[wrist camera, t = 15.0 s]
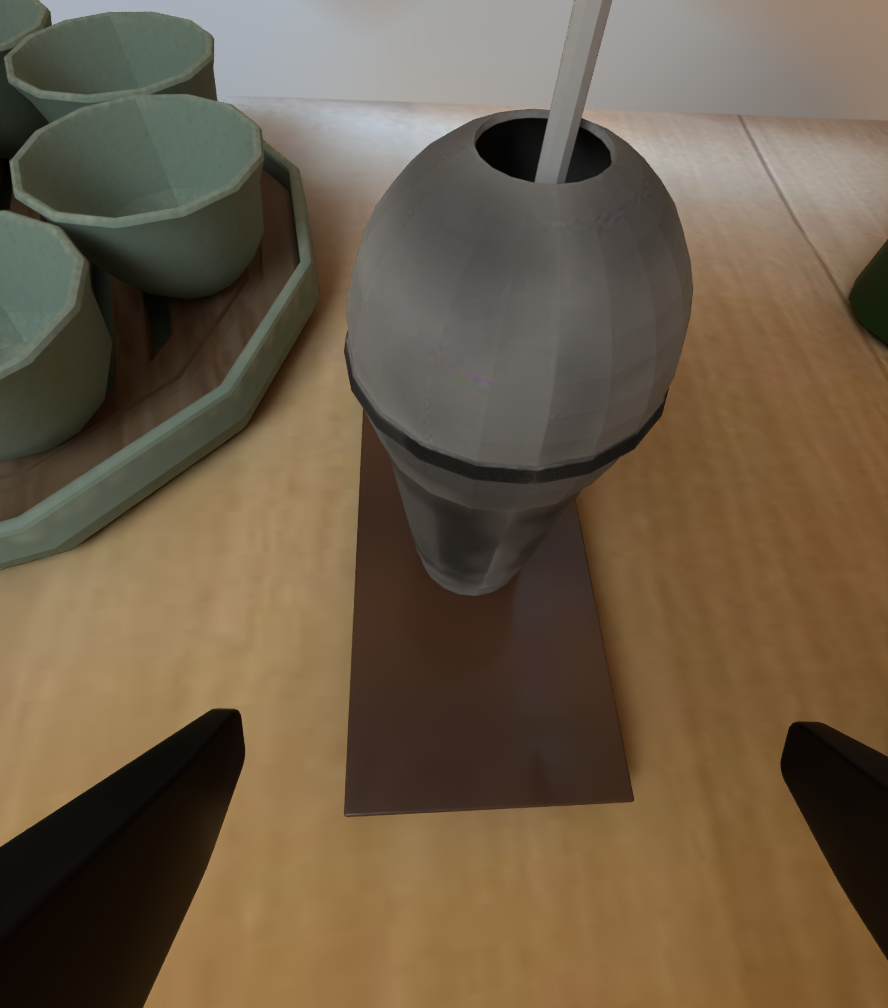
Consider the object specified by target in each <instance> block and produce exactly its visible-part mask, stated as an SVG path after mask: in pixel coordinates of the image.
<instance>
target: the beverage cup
mask: <svg viewBox="0 0 888 1008" xmlns="http://www.w3.org/2000/svg"><path fill="white" fill-rule="evenodd" d="M611 3H612V0H574V4H573V8H572V13H571V18H570V22H569V26H568V31H567V36H566V40H565V45H564V50H563V54H562V58H561V63H560V68H559V72H558V77H557V81H556V86H555V91H554V95H553V100H552V104H551V109H550V110H542V109H526V110H515V111H507V112H500V113H495V114H492V115H488V116H485V117H481V118H478V119H474V120H472V121H470V122H468V123H466V124H465V125H463V126H461V127H459V128H457V129H455V130H453V131H452V132H450V133H448V134H446V135H445V136H443V137H441V138H440V139H438V140H436V141H434V142H433V143H431V144H430V145H428V146H427V147H426V148H425V149H424V150H423V151H422V152H421V153H420V154H418V155H417V156H416V157H415V158H414V159H413V160H412V161H411V162H410V163H409V164H408V165H407V167H406V168H405V169H404V170H403V171H402V172H401V174H400V175H399V176H398V177H397V178H396V180H395V181H394V182H393V183H392V184H391V186H390V187H389V189H388V190H387V191H386V193H385V194H384V195H383V197H382V198H381V200H380V201H379V202H378V204H377V205H376V206H375V209H374V211H373V213H372V215H371V217H370V219H369V221H368V223H367V226H366V228H365V230H364V233H363V237H362V240H361V244H360V248H359V252H358V255H357V259H356V263H355V267H354V271H353V274H352V278H351V282H350V286H349V290H348V302H347V325H348V331H347V335H346V340H345V348H344V353H345V359H346V364H347V369H348V375H349V380H350V385H351V390H352V392H353V393H354V395H355V396H356V398H357V399H358V401H359V402H360V404H361V406H362V407H363V409H364V410H365V412H366V414H367V416H368V418H369V420H370V422H371V424H372V426H373V428H374V430H375V432H376V433H377V435H378V437H379V439H380V441H381V442H382V444H383V445H384V447H385V448H386V450H387V451H388V454H389V457H390V461H391V464H392V467H393V471H394V474H395V478H396V481H397V485H398V488H399V491H400V495H401V498H402V502H403V505H404V508H405V512H406V515H407V519H408V522H409V526H410V529H411V532H412V536H413V539H414V543H415V546H416V549H417V552H418V554H419V555H420V557H421V560H422V564H423V566H424V567H425V569H426V570H427V572H428V574H429V575H430V577H431V578H432V579H433V580H435V581H436V582H437V583H438V584H439V585H441V586H442V587H443V588H445V589H447V590H450V591H452V592H455V593H457V594H460V595H471V596H478V595H482V594H487V593H491V592H494V591H495V590H497V589H499V588H500V587H502V586H504V585H505V584H507V583H508V581H509V580H510V579H511V578H512V577H513V576H514V575H516V574H517V572H518V571H519V570H520V569H521V568H522V566H523V565H524V564H525V563H526V562H527V560H528V559H529V558H530V557H531V555H532V554H533V553H534V551H535V550H536V549H537V547H538V546H539V545H540V544H541V542H542V541H543V540H544V538H545V537H546V536H547V535H548V533H549V532H550V531H551V529H552V528H553V527H554V525H555V524H556V523H557V522H558V520H559V519H560V518H561V516H562V515H563V514H564V513H565V511H566V510H567V509H568V507H569V506H570V505H571V503H572V502H573V501H574V500H575V498H576V497H577V496H578V494H579V493H580V492H581V491H582V489H584V488H585V487H587V486H589V485H591V484H592V483H593V482H594V481H595V480H596V479H597V478H599V477H600V476H601V475H602V474H603V473H604V472H605V471H607V470H608V469H609V468H610V467H611V466H612V465H613V464H614V463H615V462H616V461H617V460H618V458H619V457H621V456H623V455H625V454H626V453H628V452H630V451H632V450H634V449H635V448H636V446H637V445H638V444H639V443H640V441H641V440H642V439H643V438H644V437H645V435H646V434H647V433H648V432H649V430H650V429H651V428H652V427H653V425H654V424H655V423H656V422H657V421H658V419H659V418H660V417H661V416H662V413H663V409H664V405H665V401H666V397H667V393H668V389H669V386H670V384H671V382H672V380H673V378H674V375H675V371H676V368H677V365H678V361H679V358H680V355H681V351H682V347H683V343H684V339H685V335H686V331H687V327H688V323H689V319H690V314H691V304H692V294H693V283H692V272H691V261H690V257H689V253H688V249H687V245H686V241H685V237H684V233H683V229H682V225H681V222H680V219H679V216H678V212H677V209H676V206H675V203H674V201H673V200H672V198H671V196H670V195H669V193H668V191H667V190H666V188H665V186H664V184H663V183H662V181H661V179H660V178H659V177H658V176H657V174H656V173H655V172H654V171H653V169H652V168H651V167H650V165H649V164H648V163H647V162H646V160H645V159H644V158H643V157H642V156H641V155H640V154H639V153H638V152H637V151H636V150H635V149H634V148H633V147H631V146H630V145H629V144H628V143H627V142H626V141H624V140H623V139H621V138H620V137H619V136H617V135H616V134H614V133H613V132H611V131H610V130H608V129H607V128H604V127H602V126H599V125H597V124H595V123H592V122H590V121H588V120H585V119H583V118H581V117H582V114H583V110H584V106H585V102H586V98H587V94H588V90H589V87H590V83H591V79H592V75H593V72H594V67H595V64H596V60H597V56H598V53H599V49H600V45H601V41H602V37H603V33H604V30H605V26H606V22H607V18H608V14H609V11H610V7H611Z"/></svg>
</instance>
